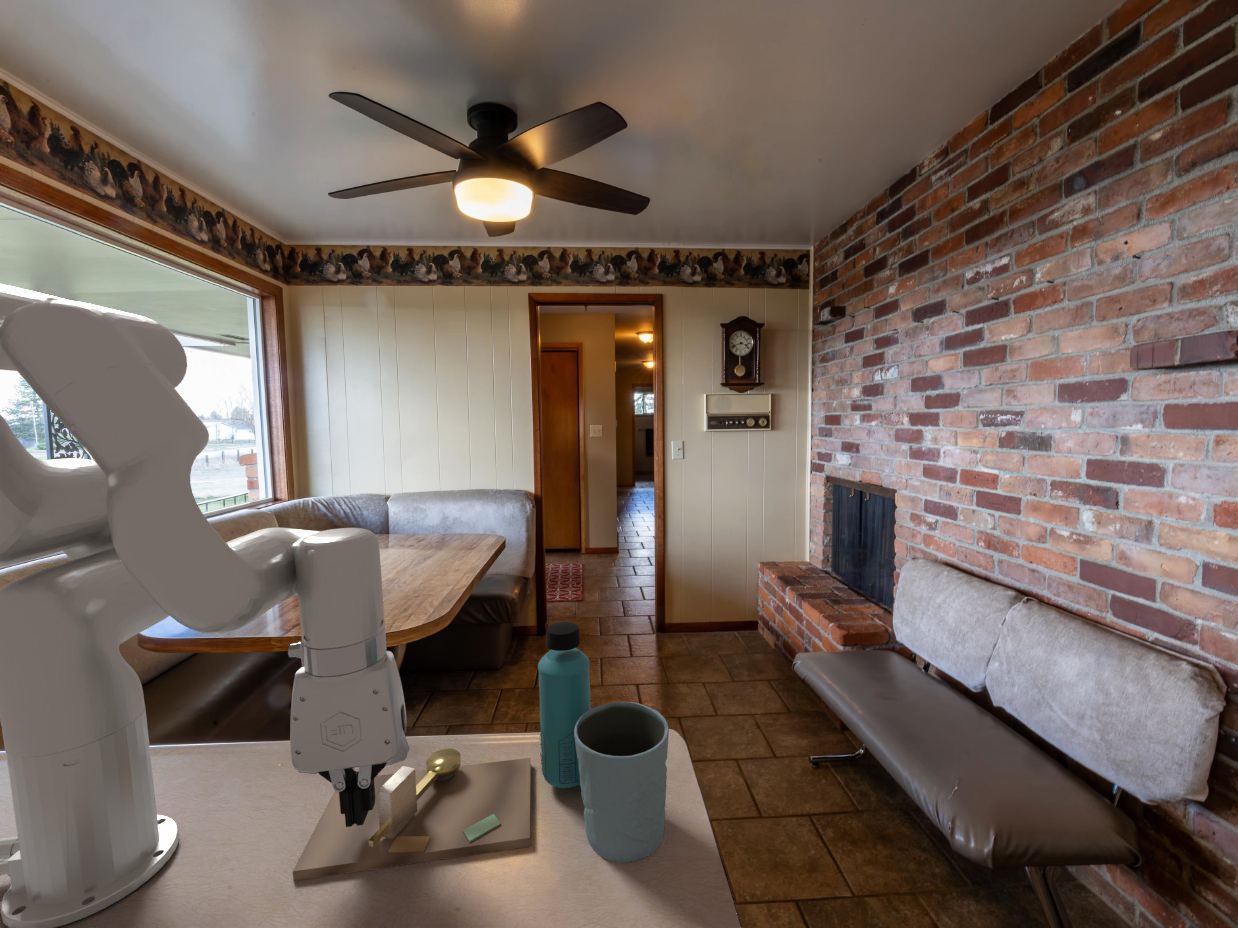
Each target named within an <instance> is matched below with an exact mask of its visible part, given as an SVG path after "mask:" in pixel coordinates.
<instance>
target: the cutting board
mask: <svg viewBox="0 0 1238 928" xmlns="http://www.w3.org/2000/svg"><path fill="white" fill-rule="evenodd" d="M531 761H532V760H531V757H526V758H517V759H510V760H509V759H507V760H499V761H493V762H492V761H491V762H485V763H476V764H475V763H473V764H467V765H466V764H465V765H460V767H459V769H458V770H457V771H456V772H455V773H453V774H452V775H449V776H447V777H443V778H437V779H436V780H435V781H434V783H433V784H432V785H431V786H430V787H429V788H428V789H427V790H426V791H425V793H424V794H423V795H422V796H421V797H420V798H419V799H418V800H417V812H416V813H415V814H414V816H413V817H412V818H411V819H410V820H409V821H408V823H407V824H406V825H405V826H404V827H403V828H402V829H401V831H400V832H399V833H398V834H397V835H396V836H395V838H394V839H390V838H386V837H381V839H380V840H379V841H378V842H377V843H376V844H375V845H374V846H373V847H372V846H369V839H370V838H371V837H372V836H373V835H374V834H375V833H376V832H377V831H378V830H379V828H380V827H379V811H378V796H377V791H378V790H379V789H380V788H381V787H382V786H383V785H384V784H385V783H386V782H387V781H388V780H389V779H390V778H391V777H392V776H393V775H394V774H395V773H391V774H382V775H377V776H376V777H375V778H374V786H375V804H374V807H373V809H372V810H369V812H368V814H367V816H366V819H365V821H364V824H363V825H359V826H357V824H354V825H352V826H351V827H346V823H345V814H341V812H340V800H339V792H337V791H335V790H334V791H333V793H332V795H331V797H330V799H329V802H328V803H327V805H326V807H325V809H324V811H323V812H322V815H321V816H320V818H319V820H318V822H317V824H316V826H315V828H314V830H313V832H312V833H311V835H310V837H309V840H308V841H307V843H306V845H305V846H304V849H303V851H302V853H301V855H300V857H299V859H298V860H297V862H296V864H295V865H294V868H293V870H292V877H293V880H292V881H301V880H307V879H313V878H314V879H315V878H322V877H327V876H329V877H330V876H336V875H341V874H348V873H356V872H363V871H369V870H376V869H382V868H383V869H384V868H391V867H396V866H397V867H399V866H404V865H410V864H418V863H419V864H420V863H426V862H433V861H438V860H446V859H452V858H460V857H466V856H467V857H468V856H472V855H473V856H474V855H481V854H486V853H494V852H495V853H496V852H503V851H508V850H514V849H522V848H530V847H531V783H532V782H531V781H532V780H531V770H532V769H531V767H532V764H531ZM426 775H427V769H424V770H417V771H416V770H415V777H416V786H417V785H418V783H419V782H420V781H421V780H422V779H423V778H424V777H425V776H426Z"/></svg>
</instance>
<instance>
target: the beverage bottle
mask: <svg viewBox="0 0 1238 928" xmlns="http://www.w3.org/2000/svg"><path fill="white" fill-rule="evenodd" d="M545 632H546V635H545V636H546V637H545V646H546V648H547V649H548V650H549V649H550V650H549V651H548V652H546V653H545V654H544V655H543V656H542V657H541V659H540V660H538V663H537V670H538V687H539V688H538V689H539V691H538V692H539V729H540V730H539V731H540V735H539V737H540V738H539V744H540V752H539V753H540V757H541V759H540V763H541V764H540V765H541V766H540V769H541V770H540V771H541V773H542V776H543V778H544V780H545V781H546V782H547V783H548V784H549V785H550V786H552V787H556V788H559V789H571V788H576V787H577V786H580V773H579V762H578V758H577V752H576V744H575V736H574V728H575V725H576V723H577V721H578V720H579V718H580V717H581V716H582V715H583V714H584V713H586V712H587V711H589V710H590V709H592V707H591V706H592V702H593V699H592V696H591V693H592V690H591V687H592V686H591V682H590V679H591V678H590V665H591V663H590V659H589V657H588V655H586V654H585V653H584V652H583V651H582V650H580V649H579V648H578V647H579V646H580V645H581V636H580V629H579V626H578V624H576V623H573V622H572V621H571V622H570V621H561V622H554V623H552V624H550V625H548V627H547V628H546V631H545Z"/></svg>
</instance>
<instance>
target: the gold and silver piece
mask: <svg viewBox="0 0 1238 928" xmlns="http://www.w3.org/2000/svg"><path fill="white" fill-rule="evenodd" d="M425 762H426V764H425V766H426V770H427V775H426V776H425V777H424V778H423V779H422V780H421V781H420V782H419V783H418V785H417V786H416V777H415V771H416V768H415V767H410V766H405V765H402V766H401V767H400V768H399V769H398V770H397V771H396V772H395V773H393V774H394V775H393V776H392V777H391V778H390V779H389V780H388V781H387V782H386V783H385V784H384V785H383V786H382V787H381V788H380V789H379V790H378V791H377V796H378V811H379V827H380V828H379V830H378V831H377V832H376V833H375V834H374V835H373V836H372V837H371V838H370V839H369V846H372V847H373V846H374V845H375V844H376V843H377V842H378V841H379V840H380V839H381V837H386V838H390V839H394V838H395V836H396V835H397V834H398V833H399V832H400V831H401V829H402V828H403V827H404V826H405V825H406V824H407V823H408V821H409V820H410V819H411V818H412V817H413V816H414V814H415V813H416V812H417V800H418V799H419V798H420V797H421V796H422V795H423V794H424V793H425V791H426V790H427V789H428V788H429V787H430V786H431V785H432V784H433V783H434V781H435V780H436V779H437V778H443V777H447V776H449V775H452V774H453V773H455V772H456V771H457V770H458V769H459V767H460V766H462V765H461V763H462V762H461V753H460V752H459V751H458V750H457V749H455V748H454V749H453V748H442V749H439V750H437V751H435V752H433V753H431V754H430V755H429V756H428V758H427V759H426V761H425Z"/></svg>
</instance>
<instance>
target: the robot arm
mask: <svg viewBox="0 0 1238 928" xmlns="http://www.w3.org/2000/svg"><path fill="white" fill-rule="evenodd" d="M187 369H188V359H187V354H186V351H185V348H184V346H183V345H182V344H181V341H180V340H179V339H178V338H177V336H176V335H175V334H174V333H173V332H171V330H169V329H168V328H167V326H164V325H162V324H161V323H160V322H158V321H156V320H154V319H151V318H148V317H146V316H142V315H140V314H139V315H138V314H134V313H130V312H125V311H122V310H117V309H113V308H109V307H105V306H101V305H96V304H92V303H88V302H83V301H76V300H70V299H66V298H61V297H58V296H54V295H51V294H50V295H49V294H47V293H46V294H45V293H42V292H37V291H34V290H29V289H25V288H21V287H18V286H13V285H8V284H3V283H0V371H2V370H3V371H13V372H17V373H18V374H19V375H20V376H21V377H22V379H24V381H25V382H26V383H27V384H28V385H29V386H30V387H31V388H32V390H33V391H34V393H36V395H37V396H38V397H39V398H40V400H42V403H44V404H45V405H46V407H47V408H48V409H49V410H50V411H51V413H53V414H54V415H55V417H56V418H57V419H58V420H59V421H60V422H61V424H62V425H63V426H64V427H65V428H66V429H67V430H68V432H69V433H70V434H71V435H72V436H73V438H74V439H75V440H76V441H77V442H78V443H79V444H80V445H81V447H82V449H84V451H85V452H86V453H87V454H88V455H89V457H90V458H91V459H88V458H81V457H80V458H77V457H76V458H75V457H70V458H69V457H68V458H66V457H65V458H53V459H52V458H51V459H39V458H36V457H34V456H33V455H32V454H31V453H30V452H29V451H28V450H27V449H26V447H24V445H23V444H22V443H21V441H19V439H18V437H17V436H16V435H15V434H14V432H13V430H12V428H11V427H10V426H9V424H8V423H7V420H5V418H4V417H3V416H2V414H0V568H1V567H6V566H11V565H16V564H20V563H23V562H24V563H25V562H28V561H32V560H36V559H38V558H43V557H46V556H49V555H53V554H55V553H60V552H63V553H64V554H65V555H66V556H67V557H68V559H69V560H68V561H65V562H62V563H59V564H55V565H51V566H48V567H45V568H42V569H39V570H36V571H33V572H31V573H29V574H26V575H23V576H21V577H19V578H16V579H15V580H13V581H11V582H9V583H6V584H5V585H3V586H1V587H0V725H1V731H2V737H3V745H4V752H5V755H6V756H5V757H6V763H7V768H8V776H9V777H8V778H9V785H10V791H11V797H12V805H13V812H14V813H13V814H14V819H15V828H16V833H17V834H16V836H8V837H1V838H0V876H2V875H7V876H8V877H9V879H10V880H9V881H10V887H8V889H7V891H6V892H5V893H4V895H3V897H2V900H1V903H0V914H1V920H2V922H3V924H4V925H5V926H6V927H7V928H58V927H62V926H66V925H68V924H71V923H74V922H77V921H79V920H82V919H85V918H87V917H90V916H92V915H94V914H96V913H98V912H100V911H103V910H104V909H106V908H107V907H108V908H109V906H111V905H114V904H115V903H117V902H119V901H120V900H122V899H124V898H125V897H127V896H128V895H129V894H131V893H133V892H135V890H137V889H138V888H139V887H141V886H142V885H144V884H145V883H146V882H147V881H149V880H150V879H151V878H152V877H154V876H155V875H156V873H157V872H159V871H160V870H161V869H162V868H163V867H164V866H165V864H166V863H167V862H168V861H169V860H170V858H171V857H172V855H173V854H174V852H175V851H176V849H177V847H178V844H179V841H180V833H179V826H178V823H177V822H176V821H175V820H174V818H173V817H170V816H168V815H167V816H166V815H162V814H158V813H157V804H156V793H155V784H154V775H153V766H152V765H153V764H152V758H151V748H150V747H151V746H150V740H149V739H150V738H149V730H148V728H149V727H148V721H147V712H146V711H147V710H146V704H145V697H144V690H143V685H142V682H141V680H140V678H139V675H138V674H137V672H136V671H135V670H134V668H133V667H132V666H131V665H130V664H129V663H128V662H127V661H126V659H125V658H124V657H123V656H122V654H121V651H120V645H121V644H123V643H124V642H126V641H128V640H130V639H131V638H132V637H135V636H136V635H137V634H140V633H142V632H144V631H145V630H147V629H149V628H151V627H154V626H155V625H157V624H158V623H160V622H162V621H164V620H166V619H168V617H171V618H172V619H173V620H175V621H176V622H177V623H179V624H180V625H182V626H184V627H185V628H188V629H189V630H192V631H195V632H199V633H202V634H209V635H211V634H212V635H218V634H219V635H220V634H226V633H230V632H233V631H237V630H240V629H242V628H243V627H245V626H247V625H249V624H251V623H252V622H254V621H255V620H257V619H258V618H260V617H261V616H262V615H264V614H266V613H267V612H268V611H270V610H271V609H272V608H274V607H276V606H277V605H279V604H281V603H284V602H285V601H287V600H290V599H292V598H294V597H296V596H297V600H298V601H297V602H298V611H299V623H300V634H301V640H300V641H298V642H296V643H295V642H294V643H290V644H289V646H288V649H287V655H288V657H289V658H297V659H300V660H301V661H300V662H301V667H300V668H298V670H297V671H296V672H295V673H294V679H293V686H292V693H291V706H290V707H291V708H290V719H289V720H290V723H289V724H290V725H289V726H290V727H289V728H290V729H289V731H290V732H289V733H290V734H289V735H290V736H289V743H290V744H289V745H290V746H289V747H290V759H291V764H292V767H293V769H294V770H296V771H297V772H298V773H300V774H309V775H310V774H312V775H319V776H321V777H323V778H324V779H325V780H327V781H328V782H329V783H330V784H331V786H332V788H333V790H334V791H337V792H339V800H340V812H341V814H345V823H346V827H351V826H352V825H354V824H357V826H359V825H363V824H364V821H365V819H366V816H367V814H368V812H369V810H372V809H373V807H374V804H375V786H374V778H375V777H376V776H379V774H380V773H381V772H382V771H383V769H384V768H385V767H386V766H392V765H394V764H397V763H400V762H403V761H405V760H406V759H407V757H408V755H409V751H410V746H409V742H408V740H407V736H406V735H405V734H406V733H407V727H408V725H407V724H408V723H407V719H408V718H407V710H406V703H405V696H404V691H403V685H402V680H401V676H400V672H399V668H398V666H397V661H396V659H395V656H394V654H393V652H392V651H390V650H387V638H386V637H387V636H386V634H387V633H386V626H385V625H386V624H385V623H386V622H385V610H384V596H383V595H384V594H383V582H382V580H383V579H382V568H381V567H382V566H381V553H380V552H381V551H380V543H379V539H378V537H377V535H376V534H375V532H373V531H371V530H370V529H367V528H362V527H344V528H343V527H340V528H332V529H326V530H311V529H301V528H291V527H267V528H261V529H258V530H256V531H253V532H250V533H248V534H246V535H245V534H244V535H242V536H239V537H236V538H234V539H231V540H229V541H225V539H224V538H223V537H222V536H221V535H220V534H219V532H218V531H217V530H216V529H215V527H213V526H212V524H211V523H210V522H209V520H208V519H207V518H206V517H205V515H204V513H203V511H202V510H201V509H200V507H199V505H198V503H197V501H196V498H195V496H194V493H193V488H192V484H191V472H192V467H193V464H194V462H195V460H196V458H197V457H198V456H199V454H201V453H202V452H203V450H205V448H206V446H207V445H208V443H209V439H210V438H209V437H210V434H209V430H208V428H207V427H206V425H205V424H204V423H203V421H202V420H201V419H200V418H199V416H197V414H196V413H195V412H194V411H193V409H192V408H191V407H190V406H189V405H188V403H187V402H186V400H184V399H183V397H182V396H181V395H180V393H179V391H177V390H176V388H177V387H178V386H179V385H180V384H181V383H182V381H183V380H184V378H185V376H186V373H187ZM355 768H358V771H356V770H355Z"/></svg>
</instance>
